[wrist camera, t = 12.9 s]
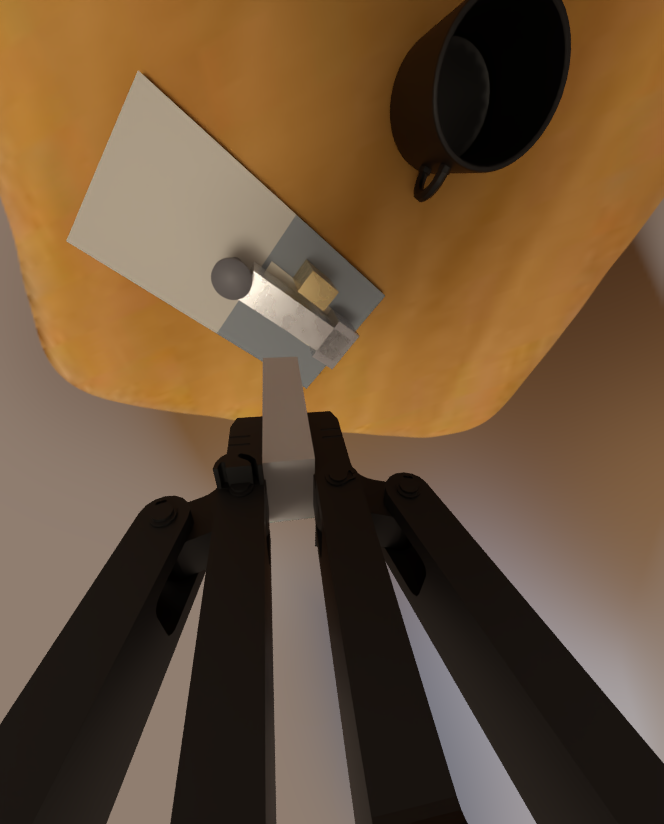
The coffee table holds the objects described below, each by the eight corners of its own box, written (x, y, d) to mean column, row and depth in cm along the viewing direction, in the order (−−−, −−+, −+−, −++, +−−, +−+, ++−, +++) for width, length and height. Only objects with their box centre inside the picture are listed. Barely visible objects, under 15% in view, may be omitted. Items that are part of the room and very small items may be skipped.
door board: (142, 74, 25) (108, 43, 19) (381, 292, 37) (404, 313, 32) (72, 239, 30) (28, 253, 24) (305, 383, 42) (312, 416, 36)
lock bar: (234, 293, 33) (232, 306, 30) (258, 254, 31) (259, 263, 28) (325, 353, 38) (332, 369, 35) (350, 322, 37) (359, 336, 33)
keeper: (306, 259, 33) (313, 270, 29) (329, 278, 34) (338, 292, 30) (292, 277, 34) (297, 291, 30) (316, 296, 35) (323, 311, 31)
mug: (357, 174, 31) (388, 173, 24) (425, -5, 25) (494, -79, 18) (438, 220, 34) (487, 231, 27) (514, 71, 29) (602, 34, 21)
